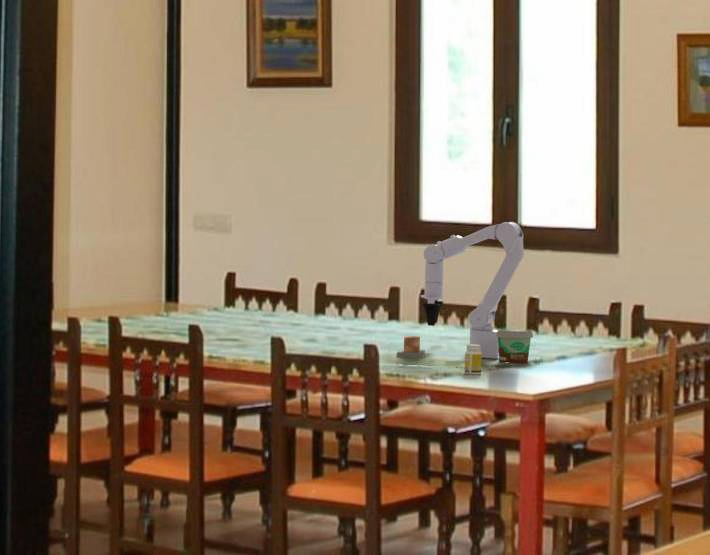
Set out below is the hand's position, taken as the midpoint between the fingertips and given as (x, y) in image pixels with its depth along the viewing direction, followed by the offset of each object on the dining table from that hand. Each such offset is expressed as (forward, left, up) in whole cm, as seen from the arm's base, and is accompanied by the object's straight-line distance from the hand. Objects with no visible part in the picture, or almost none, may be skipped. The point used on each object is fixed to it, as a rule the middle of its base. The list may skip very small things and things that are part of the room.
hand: (432, 324), depth 446 cm
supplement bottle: (-16, +44, -10) cm, 48 cm away
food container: (-28, +13, -10) cm, 32 cm away
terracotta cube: (+5, +14, -7) cm, 17 cm away
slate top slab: (+5, +14, -9) cm, 17 cm away
